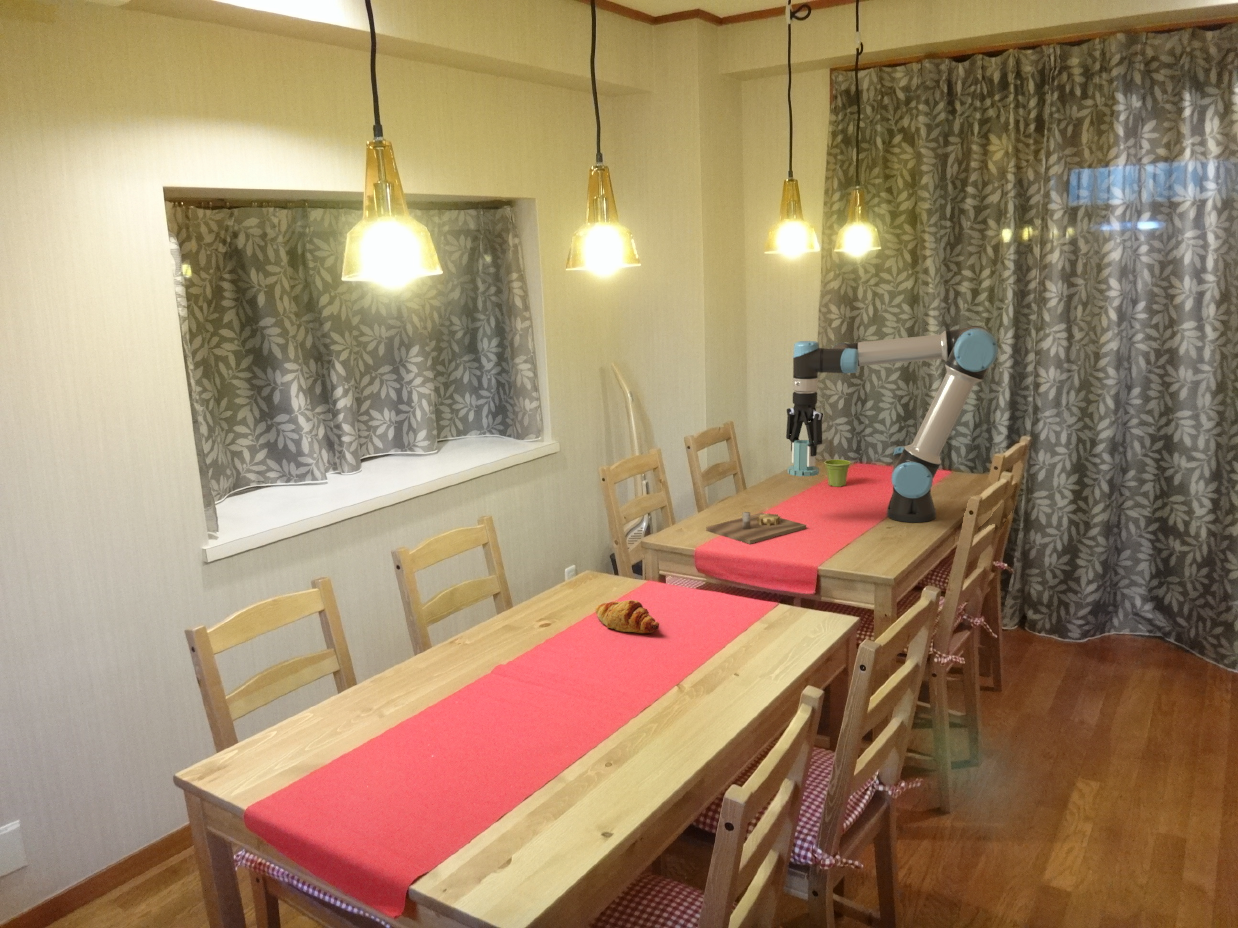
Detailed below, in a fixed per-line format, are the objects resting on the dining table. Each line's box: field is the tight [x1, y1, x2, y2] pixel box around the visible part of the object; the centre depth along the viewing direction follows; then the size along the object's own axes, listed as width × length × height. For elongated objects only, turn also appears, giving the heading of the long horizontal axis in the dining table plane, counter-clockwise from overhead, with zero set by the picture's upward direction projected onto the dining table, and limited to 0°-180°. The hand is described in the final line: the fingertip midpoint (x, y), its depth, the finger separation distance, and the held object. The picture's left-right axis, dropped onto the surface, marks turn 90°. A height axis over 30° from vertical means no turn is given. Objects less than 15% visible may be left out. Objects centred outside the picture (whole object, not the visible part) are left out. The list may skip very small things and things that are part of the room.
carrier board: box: [705, 511, 807, 545], centre depth 310 cm, size 20×24×6 cm
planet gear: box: [787, 439, 820, 477], centre depth 310 cm, size 10×10×10 cm
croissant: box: [595, 599, 660, 634], centre depth 236 cm, size 21×10×8 cm, turn 45°
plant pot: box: [823, 458, 852, 488], centre depth 361 cm, size 9×9×9 cm
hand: (803, 464), depth 310 cm, fingers closed on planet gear, 6 cm apart
